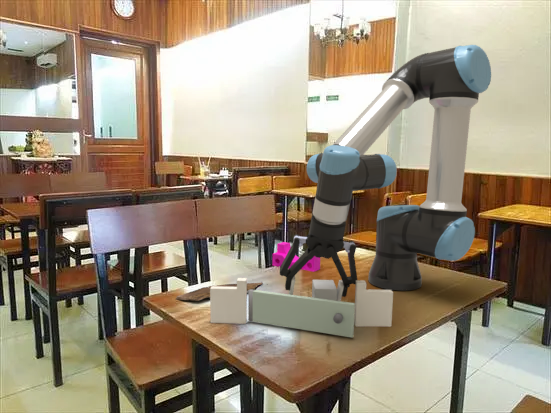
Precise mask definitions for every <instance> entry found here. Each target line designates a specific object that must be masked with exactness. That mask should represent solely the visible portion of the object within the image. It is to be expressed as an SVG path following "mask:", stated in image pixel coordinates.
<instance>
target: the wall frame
mask: <svg viewBox="0 0 551 413" xmlns="http://www.w3.org/2000/svg"><path fill="white" fill-rule="evenodd" d="M247 279H248V278H247V277H237V280H236V284H237V287H222V286H217V285H210V286H211V288H210V297H209V299H210V300H209V302H210V304H209V305H210V323H211V324H237V325H239V324H240V325H242V324H243V325H246V324H247V318H248V316H247V314H248V307H247V305H248V303H247V302H248V301H247V299H248V296H247V295H248V294H247V292H248V291H247V283H248V280H247ZM393 291H394V290H390V289H372V288H371V289H367V282H366V280H362V279H361V280H358V279H357V280H356V285H355V291H354V292H355V293H354V303H355V312H354V327H364V328H365V327H392V321H393V305H394V304H393V303H394V302H393V301H394V292H393Z"/></svg>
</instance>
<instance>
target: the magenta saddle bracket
mask: <svg viewBox="0 0 551 413" xmlns="http://www.w3.org/2000/svg"><path fill="white" fill-rule="evenodd" d="M276 246H277V247H276V248H277V249H276V252H274V253H272V265H271V266H274V267H278V268H280V267H279V266H281V265H282V263H283V261H284V259H285V257H286V255H287V253H288V252H289V250H290V248H291V246H292V245H291V242H286V241H282V242H278V243H277V244H276ZM299 258H300V256H298V255H297V254H296V255H295V257H294V259H293V261H292V262H291V264H290V266H289V268H290V267H291V266H292V265H293V264H294V263H295V262H296V261H297V260H298V259H299ZM289 268H288V269H289ZM301 270H304V271H308V272H317V271H319V270H321V257H320V258H318V257H315V256H314V257H313V258H312V259H311V260H309V261H308V262H307V263H306V264H305V265H304V266H303V267H302V268H301V269H300V271H301Z"/></svg>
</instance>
